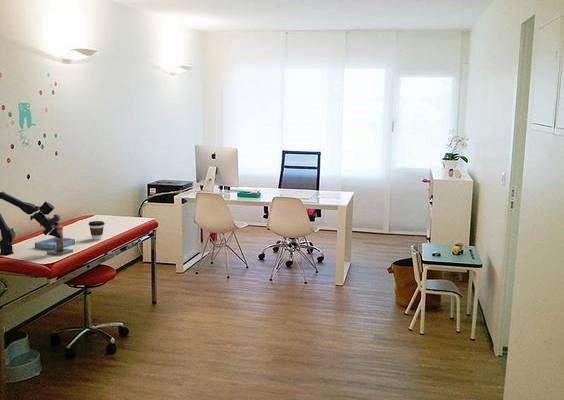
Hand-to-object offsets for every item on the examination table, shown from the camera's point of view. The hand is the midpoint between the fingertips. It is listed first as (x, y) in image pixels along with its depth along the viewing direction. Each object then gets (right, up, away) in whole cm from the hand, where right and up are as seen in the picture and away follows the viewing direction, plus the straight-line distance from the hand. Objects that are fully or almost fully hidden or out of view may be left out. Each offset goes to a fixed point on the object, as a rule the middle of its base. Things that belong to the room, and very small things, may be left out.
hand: (61, 237), depth 346 cm
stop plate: (-2, -10, +1) cm, 10 cm away
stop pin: (-2, -8, +1) cm, 8 cm away
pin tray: (-12, -7, +19) cm, 24 cm away
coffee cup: (+8, -4, +43) cm, 44 cm away
